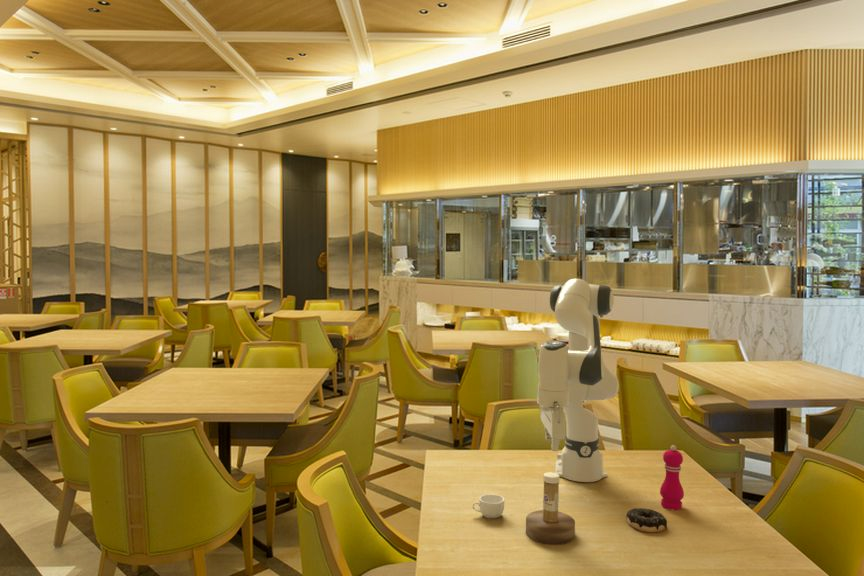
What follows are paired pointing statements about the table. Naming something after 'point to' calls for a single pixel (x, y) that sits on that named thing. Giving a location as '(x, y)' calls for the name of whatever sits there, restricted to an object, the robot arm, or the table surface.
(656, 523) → the donut
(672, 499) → the pepper mill
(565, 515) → the disc
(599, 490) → the table surface
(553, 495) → the sprinkles bottle
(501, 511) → the teacup
